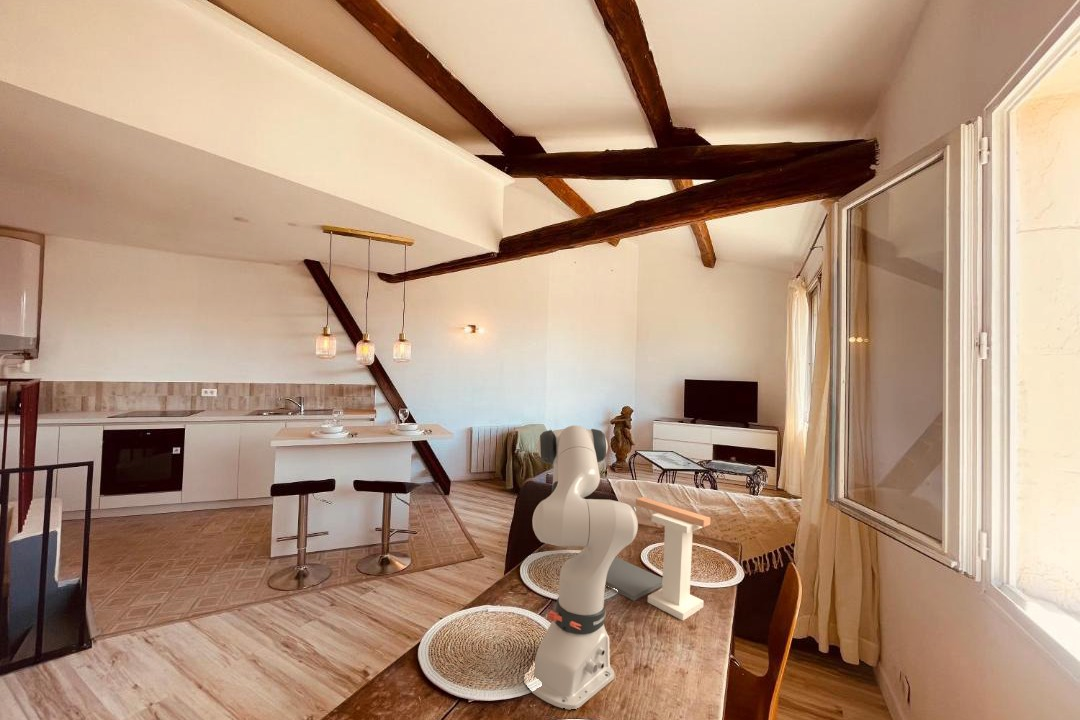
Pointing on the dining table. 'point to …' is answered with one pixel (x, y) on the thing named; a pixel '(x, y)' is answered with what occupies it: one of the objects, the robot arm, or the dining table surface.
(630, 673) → the dining table surface
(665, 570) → the stand
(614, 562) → the mat
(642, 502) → the slat
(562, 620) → the robot arm
